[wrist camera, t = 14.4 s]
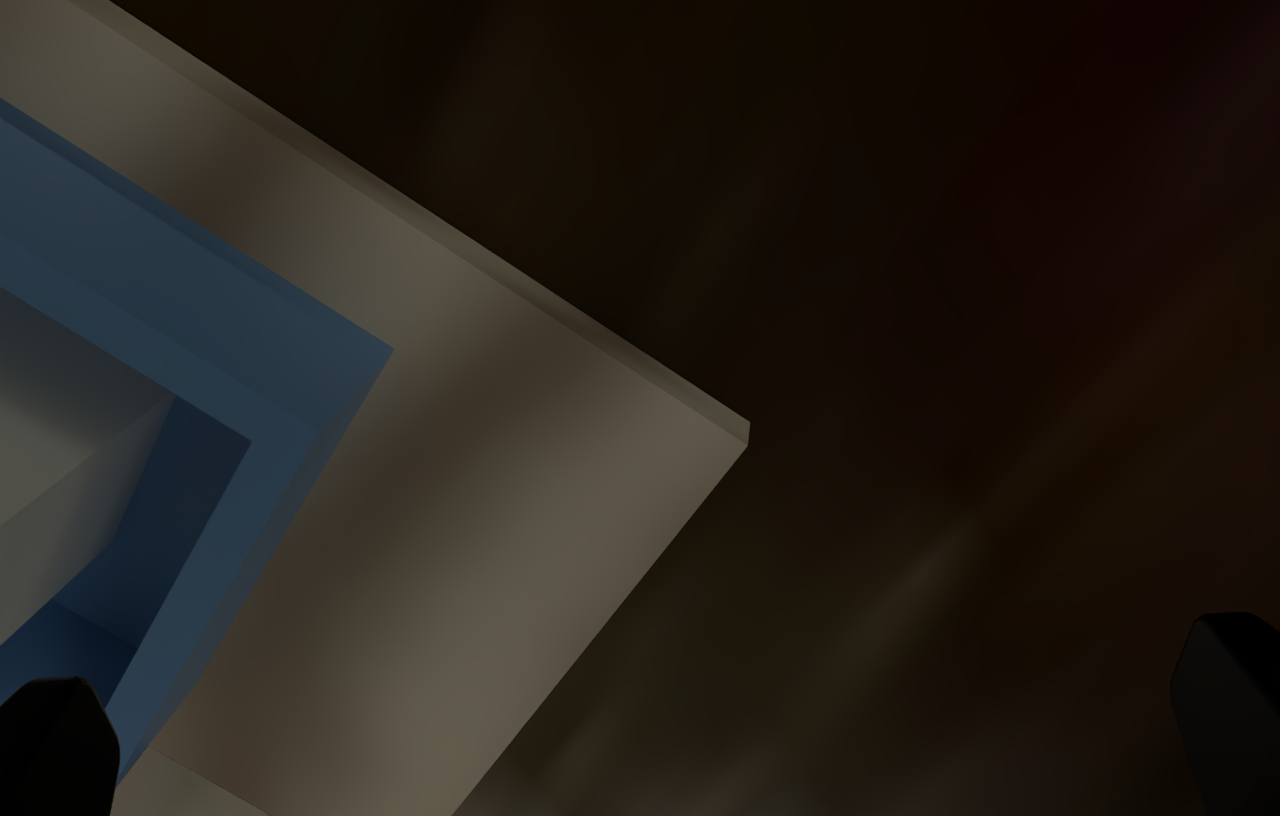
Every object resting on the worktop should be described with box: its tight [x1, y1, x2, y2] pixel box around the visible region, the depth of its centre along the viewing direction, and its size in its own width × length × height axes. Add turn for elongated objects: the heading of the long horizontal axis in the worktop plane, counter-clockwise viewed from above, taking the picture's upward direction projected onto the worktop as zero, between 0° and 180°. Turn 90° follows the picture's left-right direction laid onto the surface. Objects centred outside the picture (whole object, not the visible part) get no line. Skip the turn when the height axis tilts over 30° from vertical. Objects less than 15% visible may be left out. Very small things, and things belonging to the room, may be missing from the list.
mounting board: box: [0, 0, 750, 816], centre depth 22 cm, size 22×14×1 cm, turn 57°
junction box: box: [0, 98, 394, 788], centre depth 20 cm, size 10×10×4 cm
